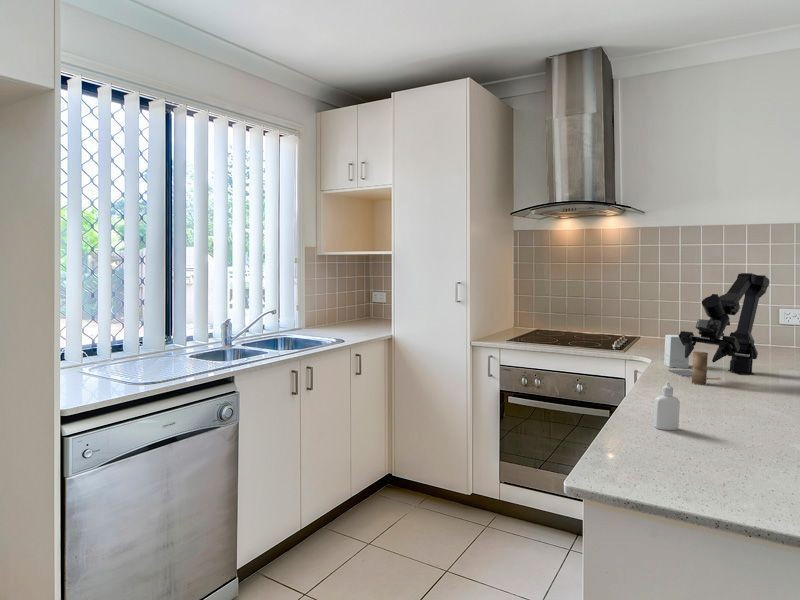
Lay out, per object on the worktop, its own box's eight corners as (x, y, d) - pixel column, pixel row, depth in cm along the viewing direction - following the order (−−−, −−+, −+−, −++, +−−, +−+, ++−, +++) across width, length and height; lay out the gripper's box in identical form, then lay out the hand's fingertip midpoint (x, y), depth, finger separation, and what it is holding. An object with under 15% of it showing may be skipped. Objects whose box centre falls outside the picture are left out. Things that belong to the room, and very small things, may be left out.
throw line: (718, 378, 192) (718, 377, 192) (720, 379, 191) (720, 378, 191) (685, 378, 192) (685, 377, 192) (687, 378, 191) (687, 377, 191)
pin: (701, 382, 186) (703, 351, 185) (708, 385, 181) (710, 353, 180) (689, 382, 186) (690, 351, 185) (696, 384, 181) (697, 353, 180)
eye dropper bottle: (654, 424, 136) (656, 378, 135) (678, 427, 133) (681, 381, 132) (652, 428, 132) (655, 382, 132) (677, 432, 130) (680, 385, 129)
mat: (689, 371, 204) (689, 370, 204) (703, 376, 194) (703, 375, 194) (668, 371, 204) (668, 369, 204) (682, 376, 194) (682, 375, 194)
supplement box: (688, 368, 210) (690, 337, 209) (668, 367, 211) (670, 336, 210) (682, 365, 217) (684, 334, 216) (663, 364, 219) (664, 334, 218)
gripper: (682, 309, 192) (664, 341, 186) (738, 313, 177) (720, 348, 171) (692, 329, 197) (675, 360, 191) (747, 335, 182) (730, 369, 176)
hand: (699, 359), depth 182 cm, fingers open, 9 cm apart
